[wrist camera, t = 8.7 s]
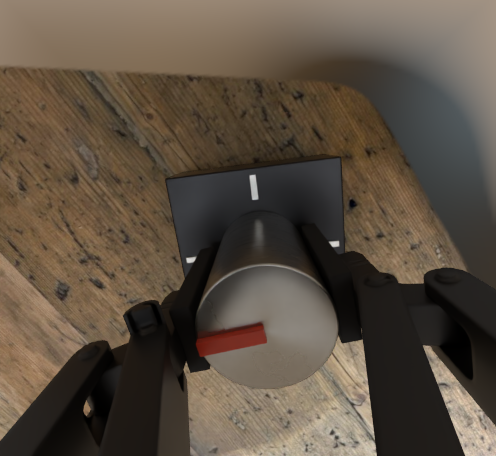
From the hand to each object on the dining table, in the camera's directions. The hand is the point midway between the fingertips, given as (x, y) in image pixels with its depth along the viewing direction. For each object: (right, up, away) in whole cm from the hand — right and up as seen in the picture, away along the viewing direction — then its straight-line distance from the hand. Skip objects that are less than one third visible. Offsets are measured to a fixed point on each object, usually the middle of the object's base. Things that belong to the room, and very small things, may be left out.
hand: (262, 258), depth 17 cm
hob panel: (0, +1, +5) cm, 5 cm away
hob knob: (0, 0, +1) cm, 1 cm away
